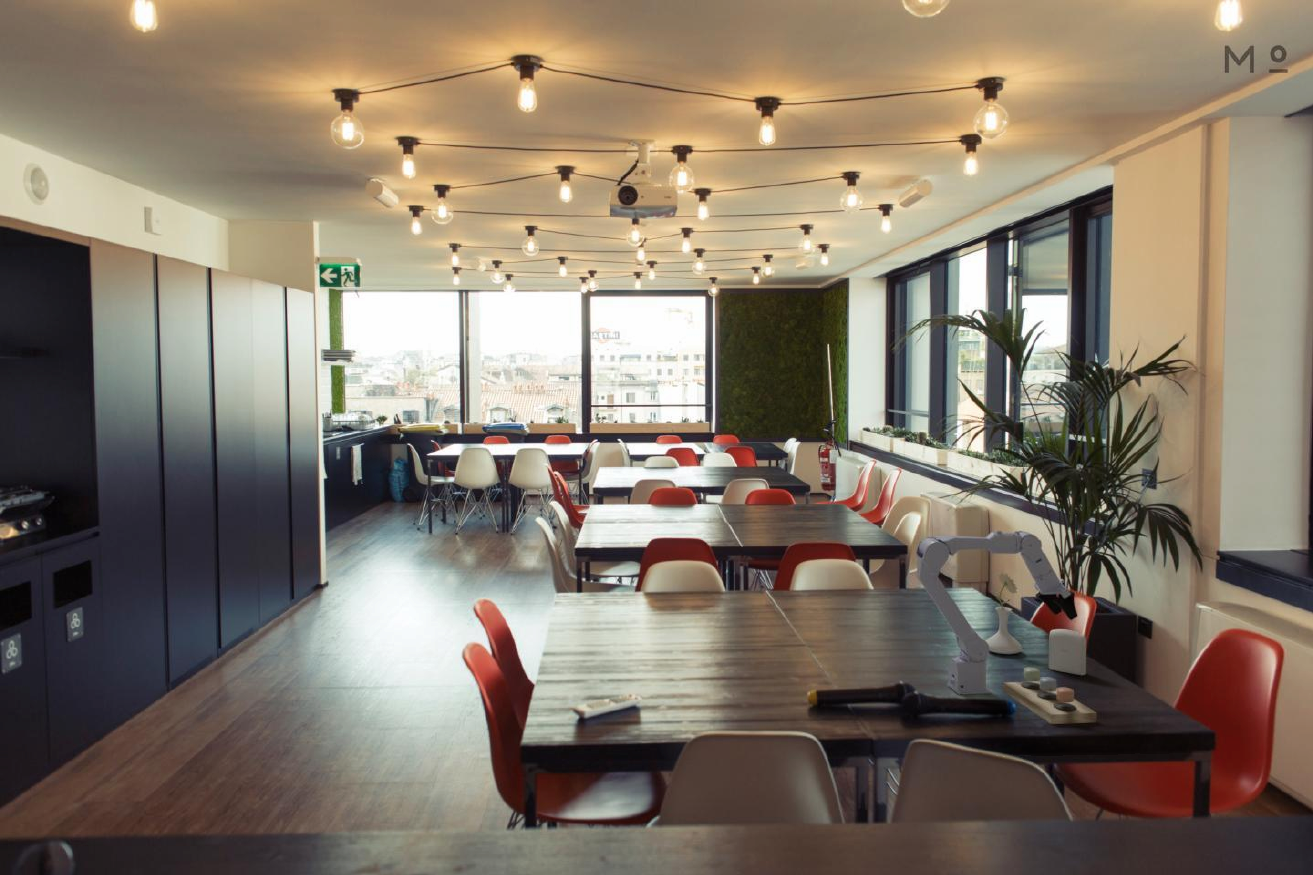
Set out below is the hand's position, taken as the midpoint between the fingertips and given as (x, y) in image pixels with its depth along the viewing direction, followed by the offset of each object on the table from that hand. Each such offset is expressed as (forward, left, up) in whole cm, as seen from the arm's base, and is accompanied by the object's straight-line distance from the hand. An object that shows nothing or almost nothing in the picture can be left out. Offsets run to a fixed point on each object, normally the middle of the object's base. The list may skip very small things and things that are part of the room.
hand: (1066, 615), depth 242 cm
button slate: (-11, -10, -17) cm, 22 cm away
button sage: (-11, -2, -17) cm, 20 cm away
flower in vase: (+1, +37, -21) cm, 43 cm away
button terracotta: (-11, -18, -17) cm, 27 cm away
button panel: (-11, -10, -21) cm, 26 cm away
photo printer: (+10, +16, -21) cm, 29 cm away
